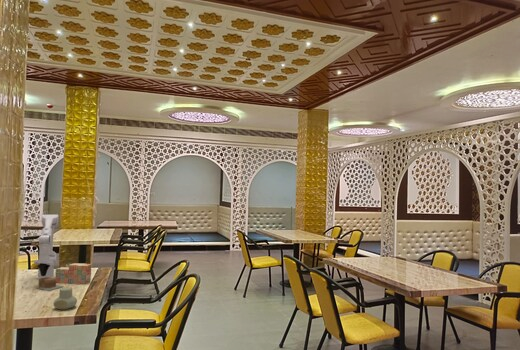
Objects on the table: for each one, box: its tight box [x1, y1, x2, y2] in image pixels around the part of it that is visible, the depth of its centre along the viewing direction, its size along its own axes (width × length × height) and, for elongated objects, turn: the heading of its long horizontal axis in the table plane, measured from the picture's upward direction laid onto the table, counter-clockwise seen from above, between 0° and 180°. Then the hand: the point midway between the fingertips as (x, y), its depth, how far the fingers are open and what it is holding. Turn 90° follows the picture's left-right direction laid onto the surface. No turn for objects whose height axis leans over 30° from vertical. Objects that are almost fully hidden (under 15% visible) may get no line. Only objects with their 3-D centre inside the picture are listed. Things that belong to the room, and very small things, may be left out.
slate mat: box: [35, 284, 64, 292], centre depth 232 cm, size 11×10×1 cm
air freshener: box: [53, 287, 78, 311], centre depth 194 cm, size 11×8×10 cm
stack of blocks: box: [54, 262, 92, 285], centre depth 247 cm, size 21×6×12 cm, turn 85°
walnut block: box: [37, 277, 57, 288], centre depth 233 cm, size 5×5×9 cm
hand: (43, 275), depth 234 cm, fingers closed
